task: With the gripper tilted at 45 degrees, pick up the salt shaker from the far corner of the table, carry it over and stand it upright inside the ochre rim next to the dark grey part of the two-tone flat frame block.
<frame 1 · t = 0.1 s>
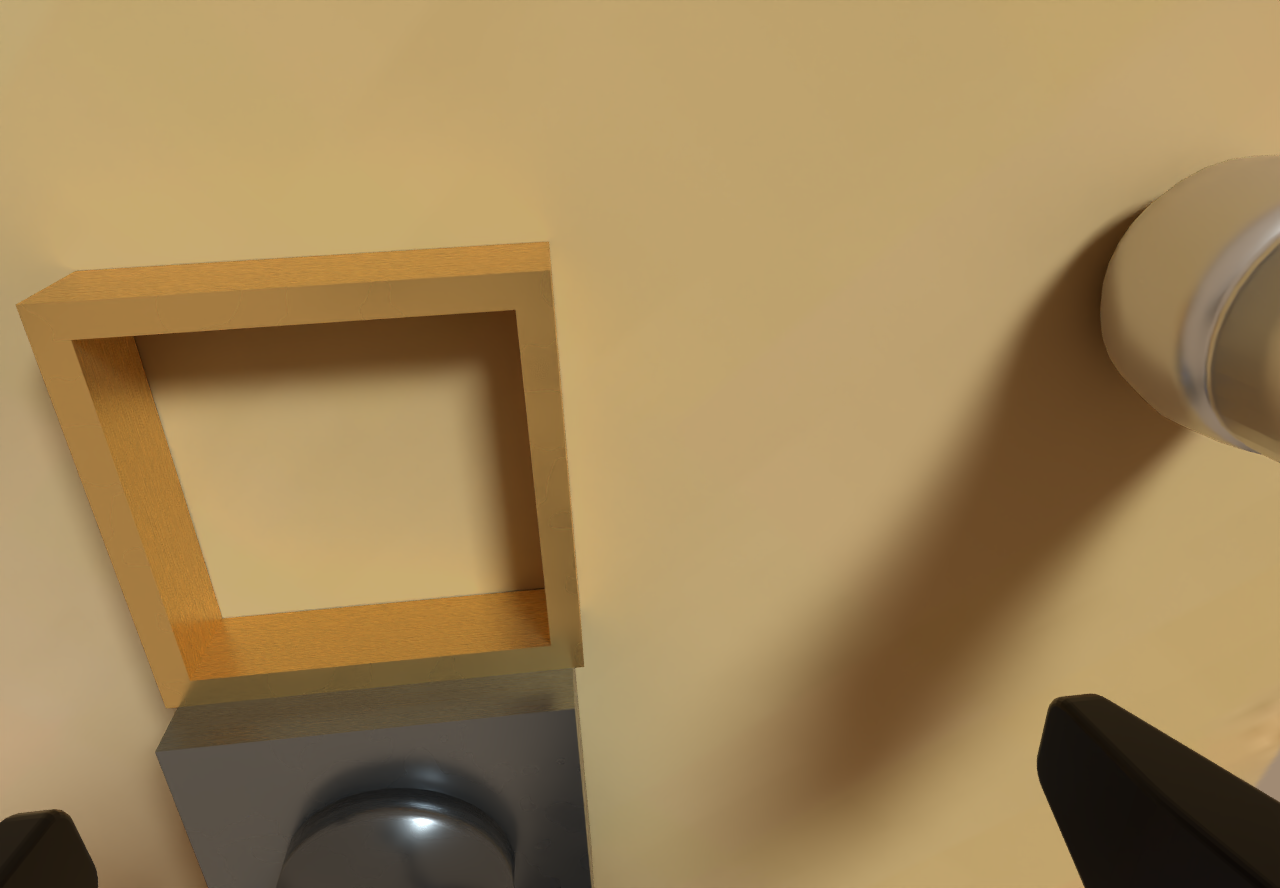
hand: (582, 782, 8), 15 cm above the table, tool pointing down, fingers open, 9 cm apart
two-tone flat frame block: (359, 460, 22), on the table
plastic bottle: (1181, 269, 23), on the table
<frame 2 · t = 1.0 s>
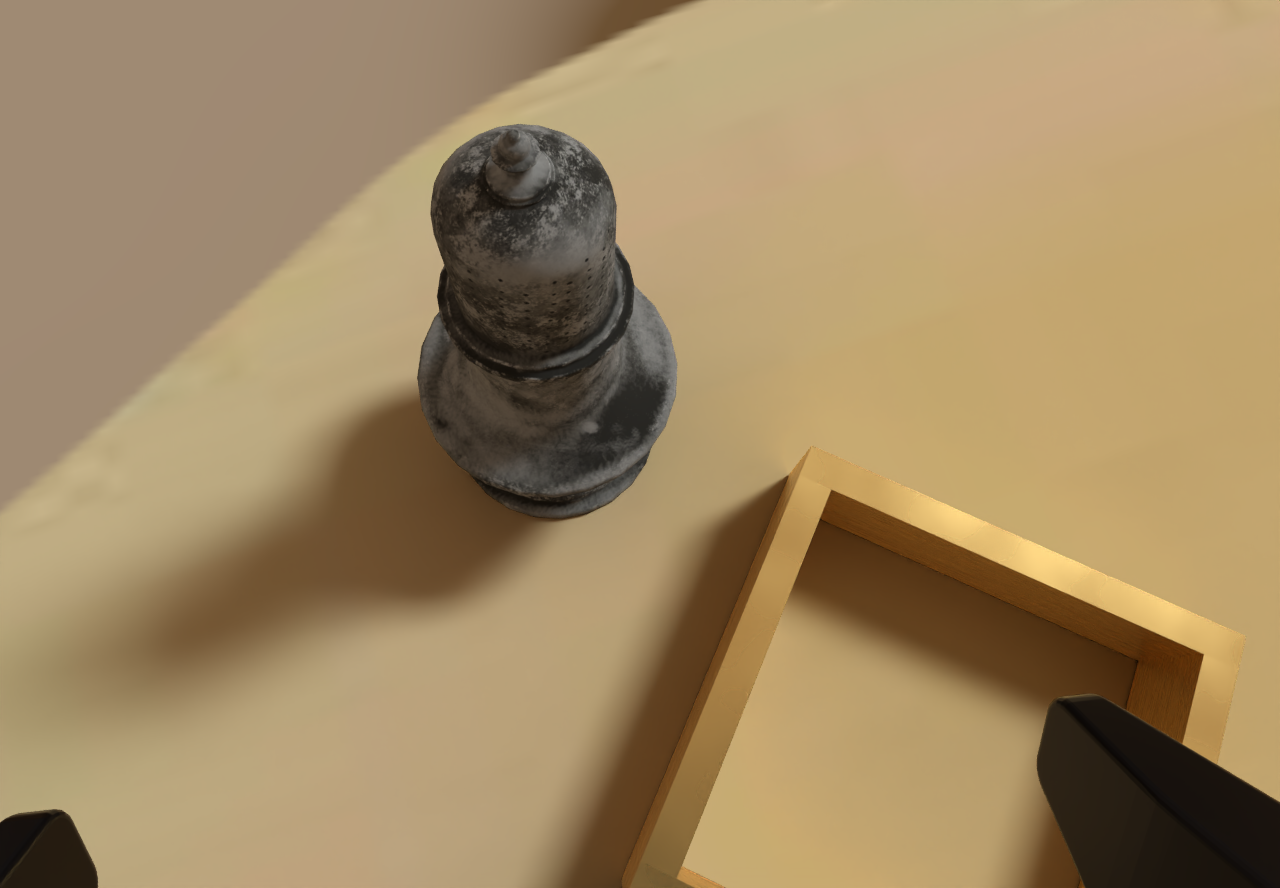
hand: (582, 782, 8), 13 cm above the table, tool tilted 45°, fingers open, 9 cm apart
two-tone flat frame block: (913, 755, 21), on the table
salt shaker: (556, 423, 23), on the table
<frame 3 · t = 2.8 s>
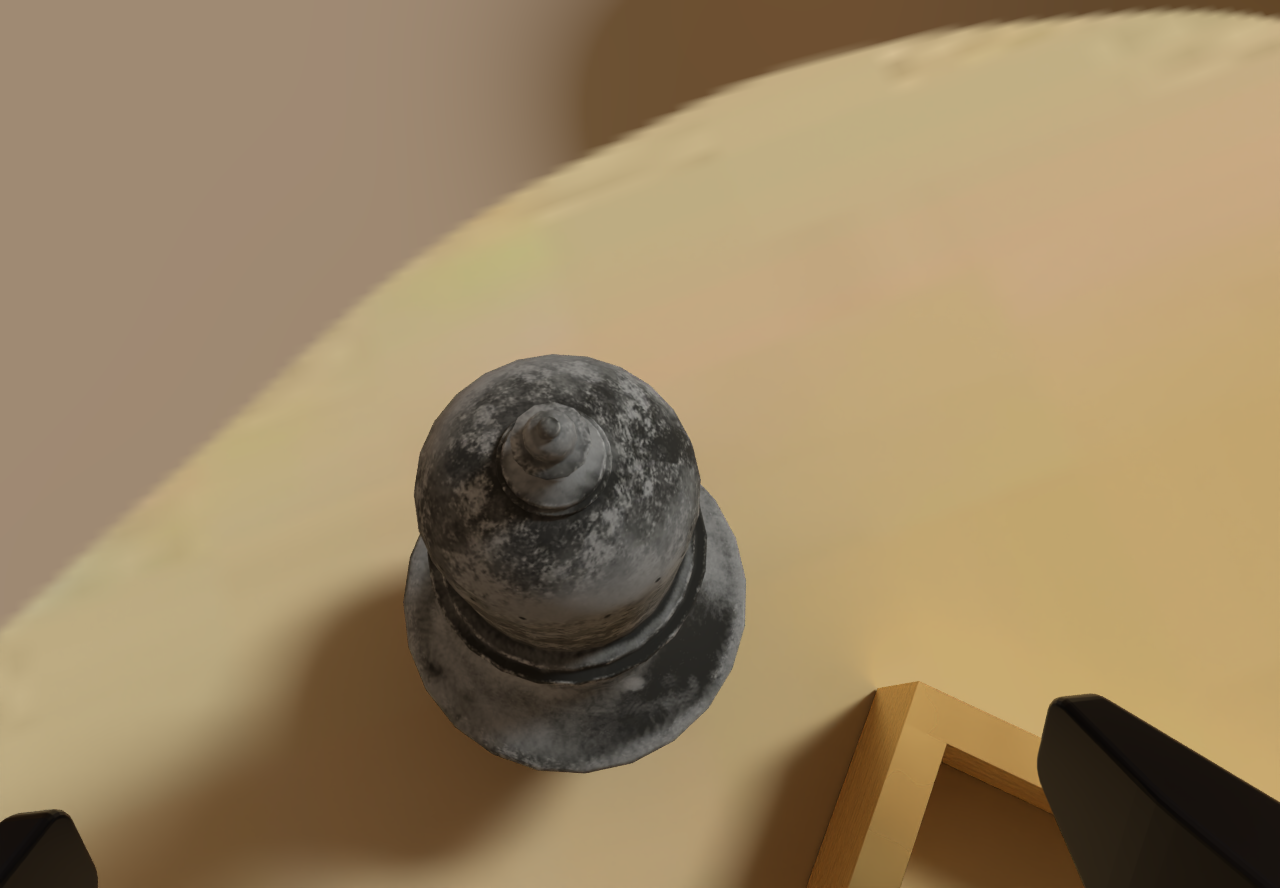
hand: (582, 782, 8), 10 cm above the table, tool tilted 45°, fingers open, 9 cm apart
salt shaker: (581, 618, 19), on the table
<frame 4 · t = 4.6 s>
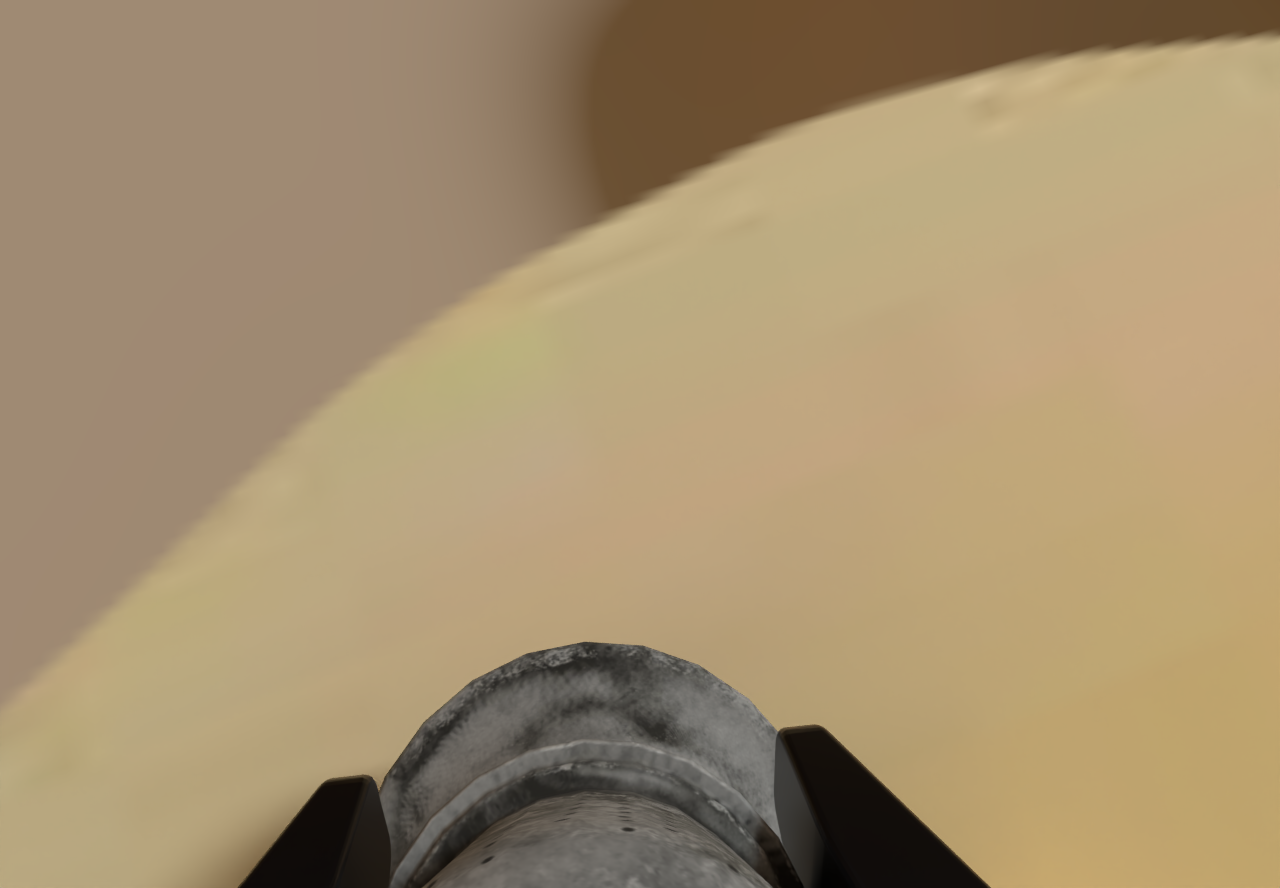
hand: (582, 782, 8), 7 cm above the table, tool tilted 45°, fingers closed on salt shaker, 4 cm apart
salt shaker: (597, 849, 14), on the table, touching gripper
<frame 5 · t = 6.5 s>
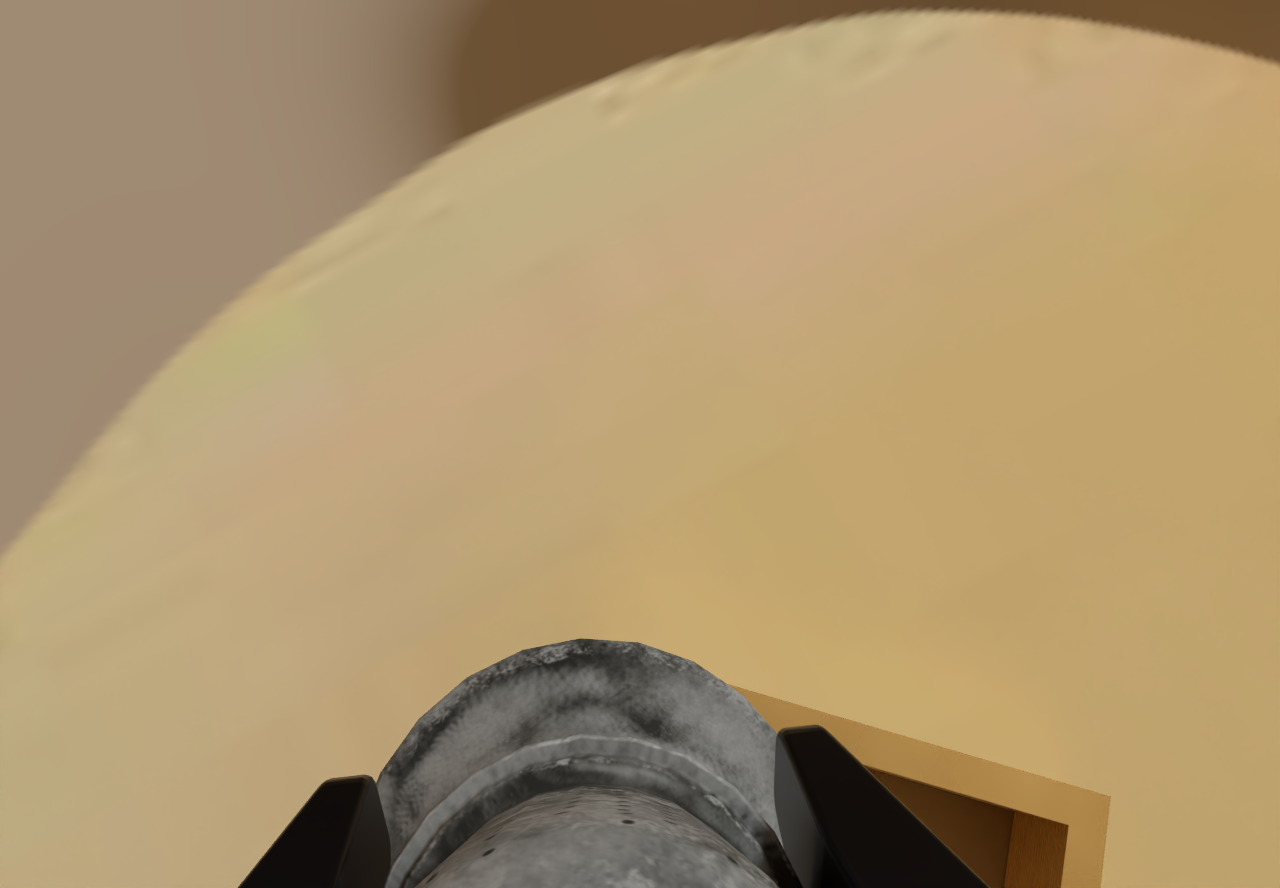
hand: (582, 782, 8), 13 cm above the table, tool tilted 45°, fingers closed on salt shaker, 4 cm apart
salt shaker: (592, 845, 14), point 6 cm above the table, touching gripper
when the fingers open (8 cm above the table, at t = 8.6 s): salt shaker drops 1 cm, resting in two-tone flat frame block.
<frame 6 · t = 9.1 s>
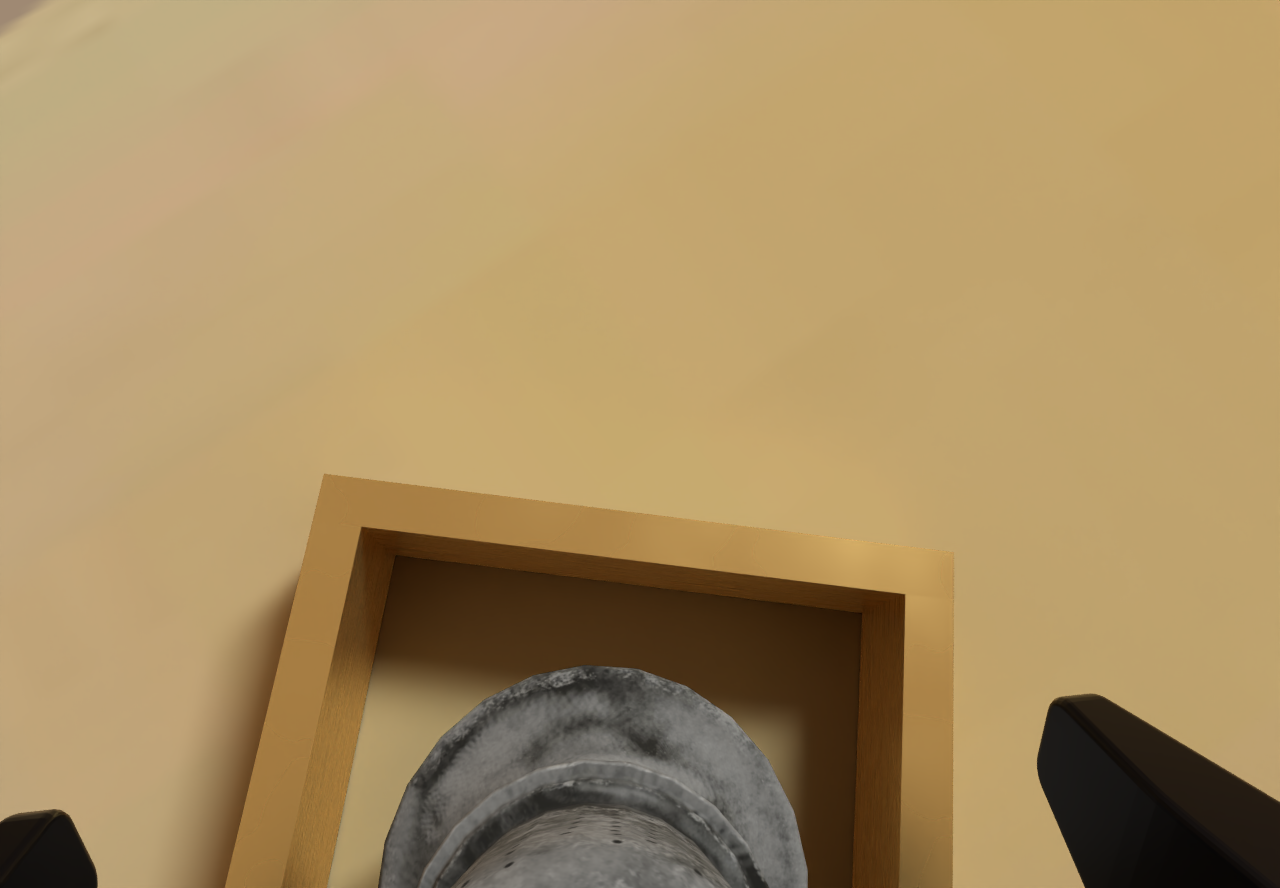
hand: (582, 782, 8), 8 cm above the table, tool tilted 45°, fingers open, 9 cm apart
two-tone flat frame block: (598, 838, 15), on the table
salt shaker: (596, 849, 15), resting in two-tone flat frame block
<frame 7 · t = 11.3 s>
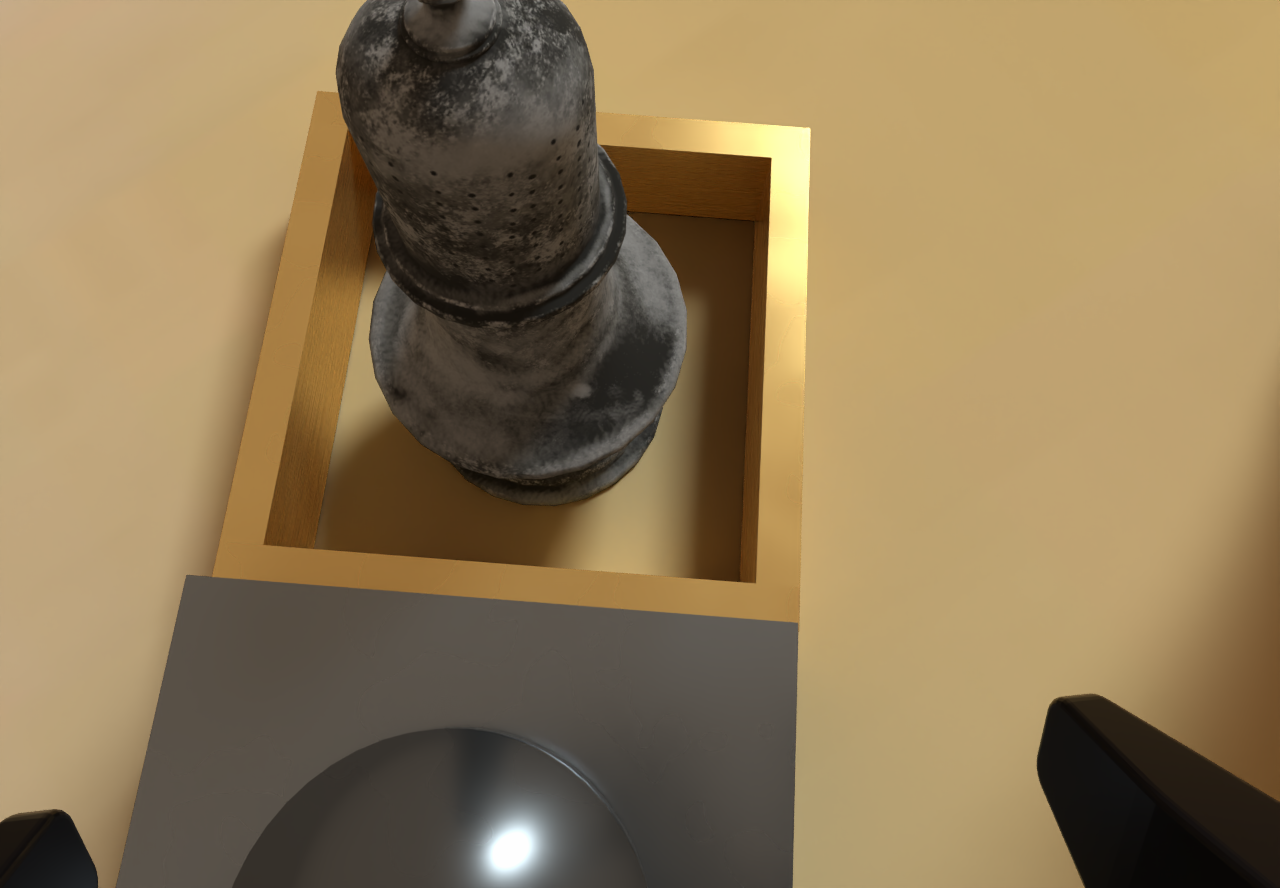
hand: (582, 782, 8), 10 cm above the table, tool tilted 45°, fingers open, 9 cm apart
two-tone flat frame block: (547, 382, 20), on the table
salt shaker: (546, 393, 20), resting in two-tone flat frame block
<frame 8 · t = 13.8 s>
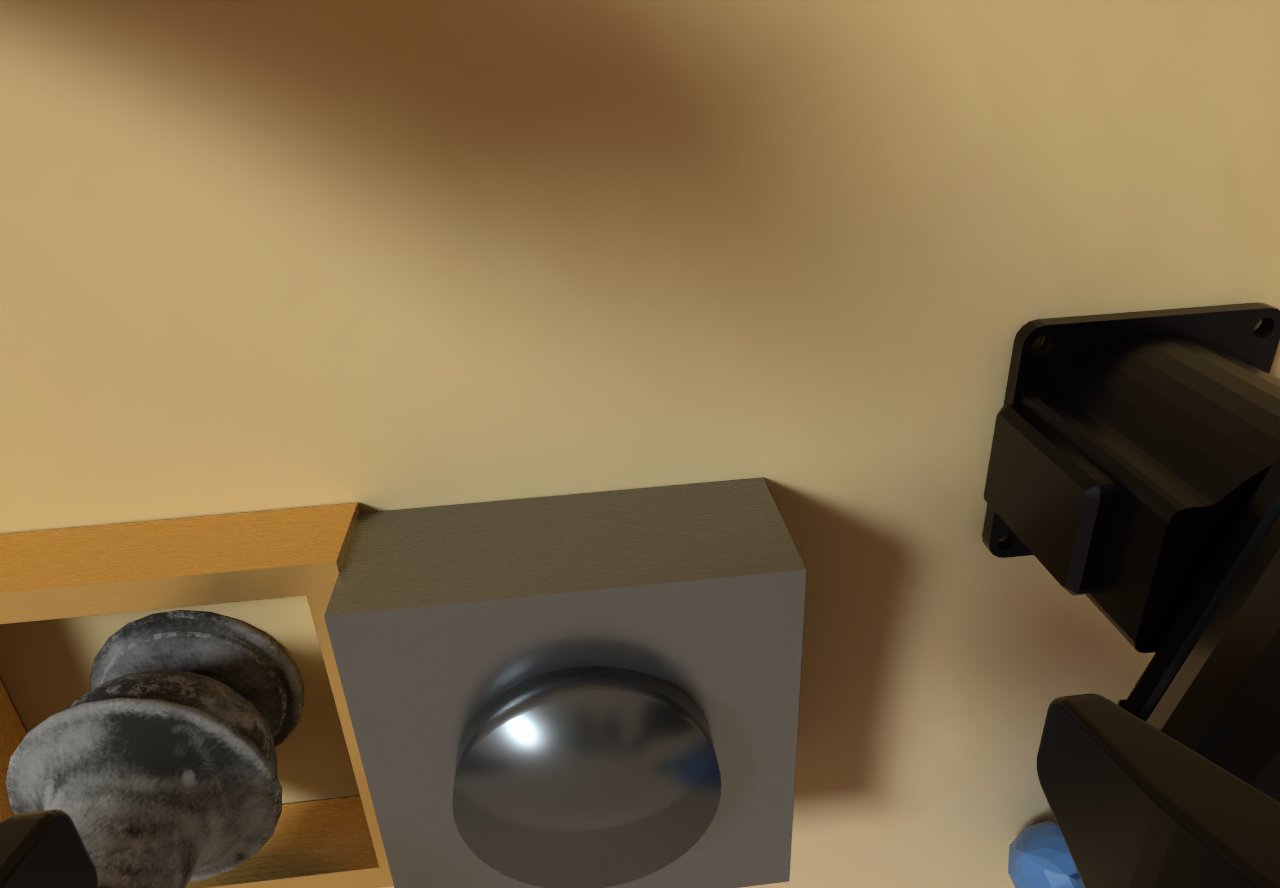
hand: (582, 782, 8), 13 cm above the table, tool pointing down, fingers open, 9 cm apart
grapes: (1064, 756, 28), on the table
two-tone flat frame block: (192, 691, 23), on the table
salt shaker: (202, 685, 23), resting in two-tone flat frame block
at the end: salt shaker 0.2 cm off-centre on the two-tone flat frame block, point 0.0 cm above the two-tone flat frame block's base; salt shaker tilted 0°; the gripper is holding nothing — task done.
